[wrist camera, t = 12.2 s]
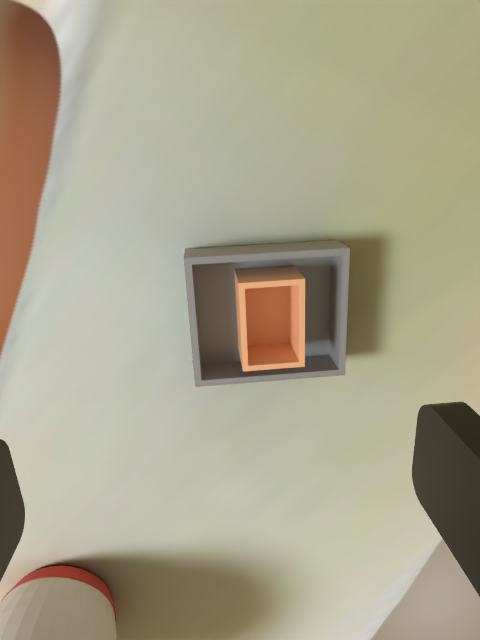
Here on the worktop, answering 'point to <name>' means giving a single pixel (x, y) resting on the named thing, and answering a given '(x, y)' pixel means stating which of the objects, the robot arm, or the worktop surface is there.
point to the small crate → (270, 317)
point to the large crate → (221, 317)
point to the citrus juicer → (58, 607)
